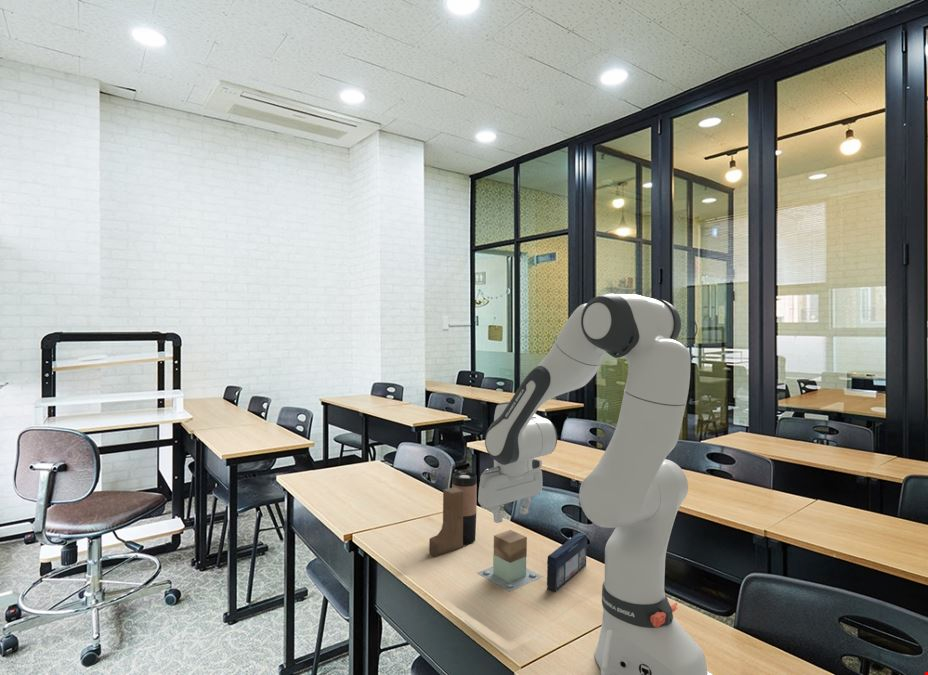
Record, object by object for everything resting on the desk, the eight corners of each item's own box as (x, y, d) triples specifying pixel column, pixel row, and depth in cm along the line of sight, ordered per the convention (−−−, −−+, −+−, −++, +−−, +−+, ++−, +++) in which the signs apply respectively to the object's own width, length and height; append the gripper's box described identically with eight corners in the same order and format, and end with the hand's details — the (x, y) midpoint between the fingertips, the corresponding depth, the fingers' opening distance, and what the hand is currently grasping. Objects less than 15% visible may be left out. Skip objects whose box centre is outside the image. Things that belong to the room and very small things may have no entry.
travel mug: (466, 547, 150) (466, 480, 149) (446, 540, 154) (447, 475, 154) (481, 538, 156) (481, 474, 155) (461, 532, 160) (462, 470, 160)
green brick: (526, 575, 129) (526, 556, 129) (509, 582, 125) (509, 562, 125) (509, 567, 134) (509, 548, 134) (493, 573, 130) (493, 554, 130)
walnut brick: (526, 556, 129) (526, 536, 129) (510, 562, 125) (510, 543, 125) (510, 548, 134) (510, 529, 134) (493, 554, 130) (493, 535, 130)
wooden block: (436, 559, 141) (437, 495, 141) (428, 553, 145) (429, 491, 145) (463, 552, 146) (463, 490, 146) (454, 546, 150) (455, 486, 150)
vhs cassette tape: (555, 599, 121) (555, 558, 121) (544, 595, 123) (545, 554, 123) (588, 571, 135) (588, 534, 135) (578, 568, 137) (578, 532, 137)
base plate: (542, 582, 129) (542, 574, 129) (509, 597, 121) (509, 589, 121) (509, 565, 138) (509, 558, 138) (476, 578, 130) (476, 571, 130)
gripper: (489, 472, 120) (490, 530, 120) (546, 460, 133) (546, 512, 133) (472, 468, 125) (472, 523, 125) (528, 456, 138) (529, 506, 138)
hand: (511, 517), depth 129 cm, fingers open, 8 cm apart
